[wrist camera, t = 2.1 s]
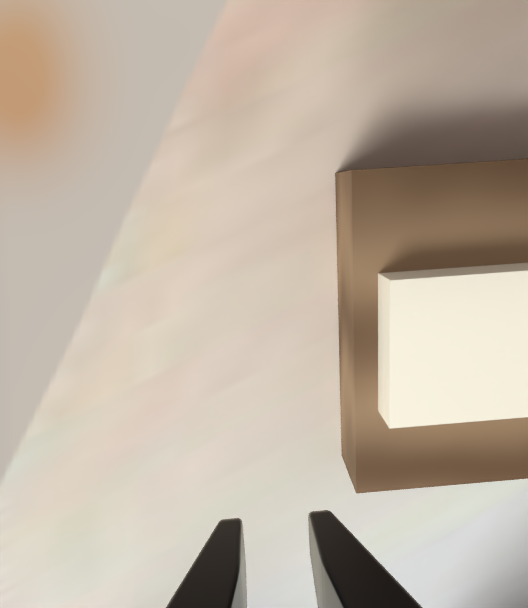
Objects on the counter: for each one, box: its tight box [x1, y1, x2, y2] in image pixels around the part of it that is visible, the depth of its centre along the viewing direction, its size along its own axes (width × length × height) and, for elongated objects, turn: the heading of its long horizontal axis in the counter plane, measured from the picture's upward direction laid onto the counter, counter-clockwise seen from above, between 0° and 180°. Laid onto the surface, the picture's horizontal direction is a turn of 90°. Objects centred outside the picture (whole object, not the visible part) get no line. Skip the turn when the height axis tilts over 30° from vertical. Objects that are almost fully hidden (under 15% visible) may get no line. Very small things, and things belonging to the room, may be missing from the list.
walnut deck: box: [335, 159, 528, 493], centre depth 20 cm, size 14×12×3 cm
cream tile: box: [378, 263, 528, 429], centre depth 18 cm, size 6×8×2 cm
